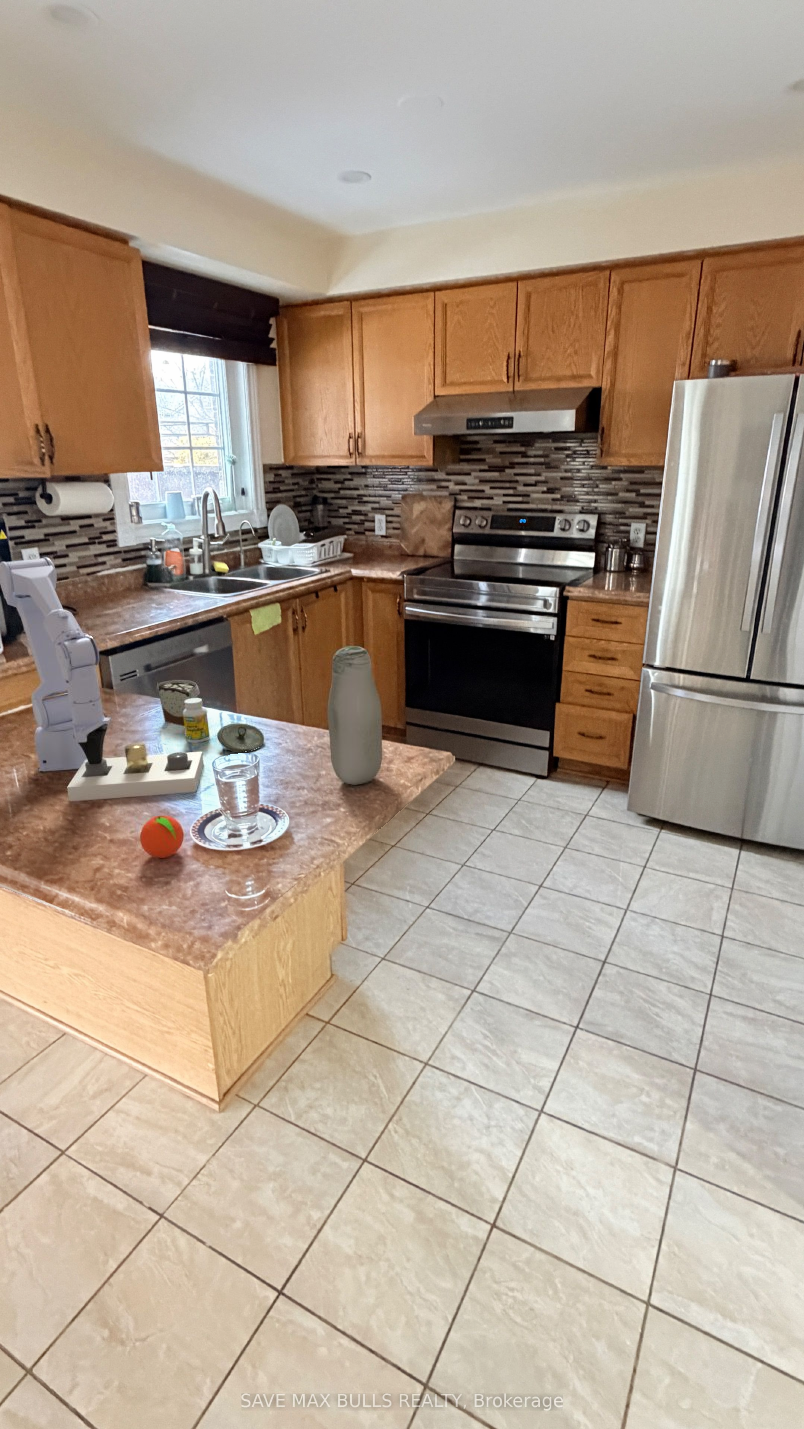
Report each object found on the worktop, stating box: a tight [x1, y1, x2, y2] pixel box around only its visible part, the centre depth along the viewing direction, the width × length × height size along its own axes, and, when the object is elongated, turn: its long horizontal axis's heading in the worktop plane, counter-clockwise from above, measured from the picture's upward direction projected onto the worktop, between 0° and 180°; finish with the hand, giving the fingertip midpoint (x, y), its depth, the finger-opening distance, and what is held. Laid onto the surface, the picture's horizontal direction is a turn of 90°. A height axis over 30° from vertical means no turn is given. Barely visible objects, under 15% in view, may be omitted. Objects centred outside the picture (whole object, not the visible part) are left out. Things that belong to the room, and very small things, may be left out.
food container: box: [156, 679, 200, 728], centre depth 187 cm, size 12×6×10 cm, turn 58°
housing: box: [66, 751, 205, 802], centre depth 154 cm, size 24×14×3 cm, turn 98°
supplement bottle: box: [183, 697, 211, 744], centre depth 175 cm, size 5×5×10 cm
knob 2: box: [167, 751, 189, 771], centre depth 154 cm, size 4×4×5 cm
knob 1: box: [85, 758, 108, 777], centre depth 152 cm, size 4×4×5 cm
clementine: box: [139, 814, 185, 859], centre depth 124 cm, size 8×7×7 cm
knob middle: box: [124, 742, 148, 773], centre depth 152 cm, size 4×4×5 cm
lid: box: [216, 723, 265, 753], centre depth 171 cm, size 11×10×5 cm
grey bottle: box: [327, 645, 383, 786], centre depth 147 cm, size 10×10×28 cm
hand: (95, 763), depth 151 cm, fingers closed, pressing on knob 1
